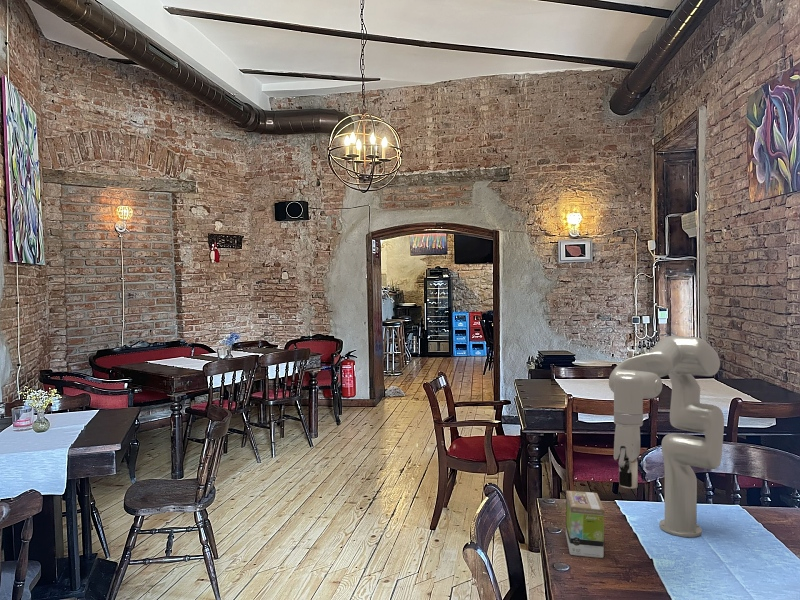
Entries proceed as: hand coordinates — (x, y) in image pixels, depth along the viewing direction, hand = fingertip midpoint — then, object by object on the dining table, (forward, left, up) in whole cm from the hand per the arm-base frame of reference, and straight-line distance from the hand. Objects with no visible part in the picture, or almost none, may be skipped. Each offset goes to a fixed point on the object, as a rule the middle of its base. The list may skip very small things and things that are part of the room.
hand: (628, 482), depth 157 cm
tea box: (-9, -15, -25) cm, 31 cm away
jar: (0, 0, -1) cm, 1 cm away
